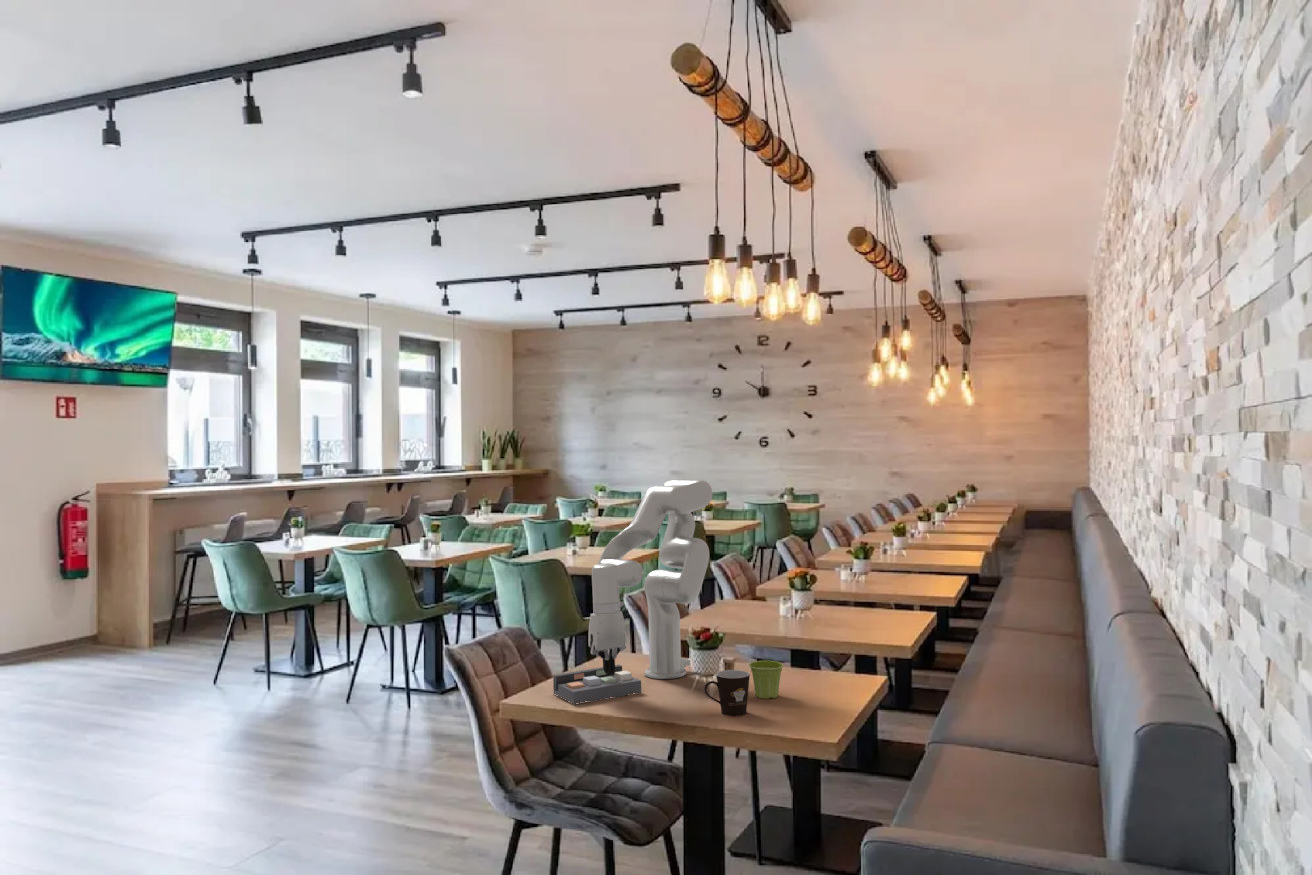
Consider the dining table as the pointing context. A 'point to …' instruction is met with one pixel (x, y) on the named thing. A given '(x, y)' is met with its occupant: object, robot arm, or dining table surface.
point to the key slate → (591, 681)
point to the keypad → (593, 691)
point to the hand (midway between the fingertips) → (609, 672)
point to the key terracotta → (575, 685)
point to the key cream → (623, 675)
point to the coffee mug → (732, 691)
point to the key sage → (607, 680)
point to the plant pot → (766, 678)
